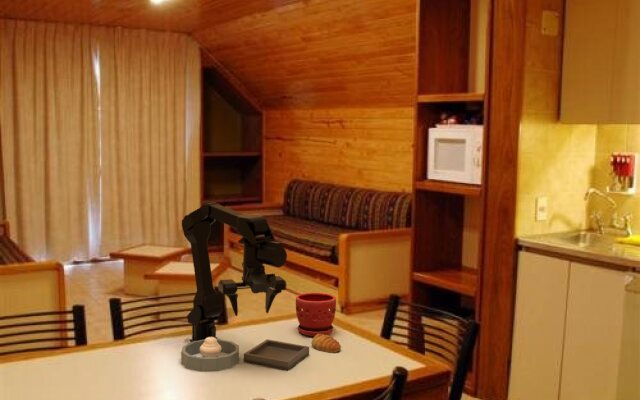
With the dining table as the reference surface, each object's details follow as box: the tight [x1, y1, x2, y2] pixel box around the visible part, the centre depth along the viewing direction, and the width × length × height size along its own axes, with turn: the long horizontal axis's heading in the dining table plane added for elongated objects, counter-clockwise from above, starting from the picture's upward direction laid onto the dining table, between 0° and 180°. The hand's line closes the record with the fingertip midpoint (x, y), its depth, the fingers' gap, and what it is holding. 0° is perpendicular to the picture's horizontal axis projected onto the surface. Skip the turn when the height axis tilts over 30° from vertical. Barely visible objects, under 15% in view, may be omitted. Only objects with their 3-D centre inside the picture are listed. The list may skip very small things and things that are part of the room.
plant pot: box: [295, 292, 337, 337], centre depth 214 cm, size 13×13×12 cm
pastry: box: [311, 334, 342, 353], centre depth 200 cm, size 9×7×4 cm
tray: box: [243, 338, 310, 372], centre depth 190 cm, size 14×14×2 cm
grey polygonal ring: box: [180, 338, 240, 372], centre depth 187 cm, size 16×16×4 cm
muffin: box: [200, 337, 222, 358], centre depth 187 cm, size 6×6×7 cm
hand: (251, 314), depth 189 cm, fingers open, 9 cm apart
